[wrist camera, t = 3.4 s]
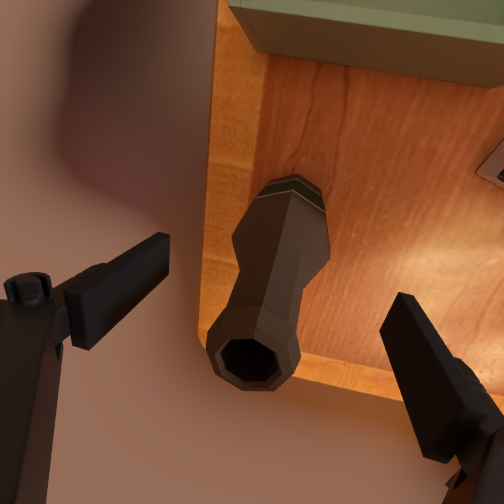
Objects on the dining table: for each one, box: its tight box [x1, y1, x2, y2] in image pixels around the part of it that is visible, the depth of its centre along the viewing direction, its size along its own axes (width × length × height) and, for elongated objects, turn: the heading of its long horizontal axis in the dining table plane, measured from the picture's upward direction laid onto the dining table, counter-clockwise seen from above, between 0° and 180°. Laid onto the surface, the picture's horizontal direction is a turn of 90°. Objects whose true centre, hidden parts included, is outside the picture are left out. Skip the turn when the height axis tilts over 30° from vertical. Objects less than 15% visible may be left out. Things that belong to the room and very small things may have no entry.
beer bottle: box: [206, 174, 330, 391], centre depth 20 cm, size 8×8×24 cm
